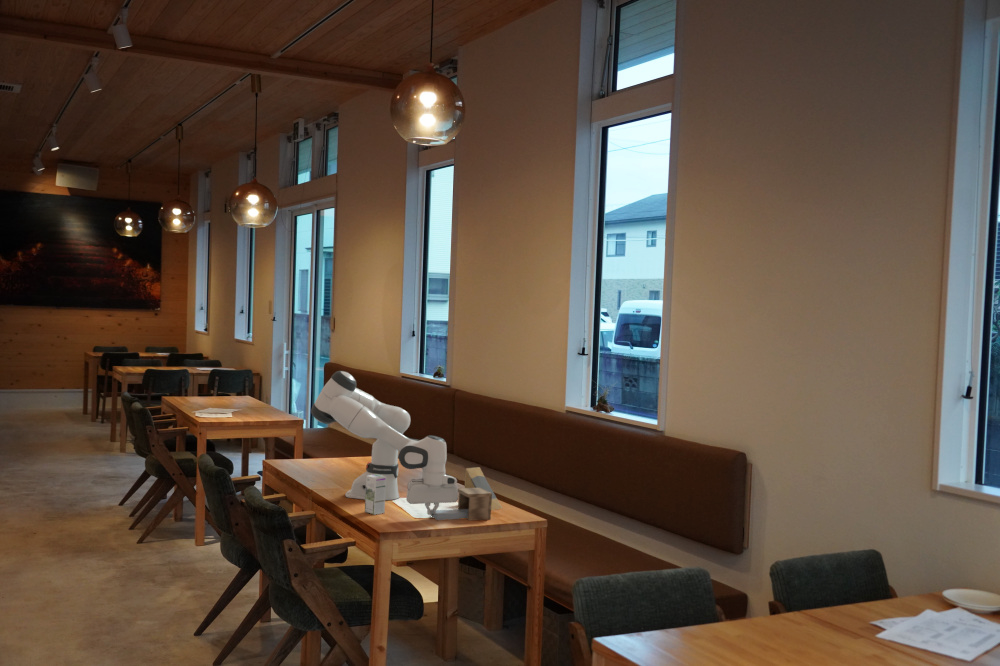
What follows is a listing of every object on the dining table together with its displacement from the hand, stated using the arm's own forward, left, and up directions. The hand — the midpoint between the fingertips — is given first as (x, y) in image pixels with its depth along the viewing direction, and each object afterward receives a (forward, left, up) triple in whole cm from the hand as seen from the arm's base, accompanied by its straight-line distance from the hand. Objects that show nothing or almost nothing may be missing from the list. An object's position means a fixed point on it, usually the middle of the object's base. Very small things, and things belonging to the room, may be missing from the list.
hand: (431, 514), depth 332 cm
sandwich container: (+18, +30, -2) cm, 35 cm away
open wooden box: (+15, +9, -2) cm, 18 cm away
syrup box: (-23, +3, -2) cm, 23 cm away
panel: (+10, +6, -2) cm, 12 cm away
